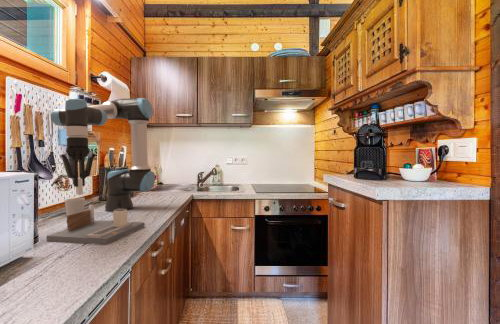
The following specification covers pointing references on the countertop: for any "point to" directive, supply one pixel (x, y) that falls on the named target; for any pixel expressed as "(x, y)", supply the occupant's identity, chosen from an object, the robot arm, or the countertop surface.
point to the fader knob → (119, 217)
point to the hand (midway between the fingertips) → (79, 194)
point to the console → (95, 231)
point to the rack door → (78, 219)
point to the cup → (74, 205)
